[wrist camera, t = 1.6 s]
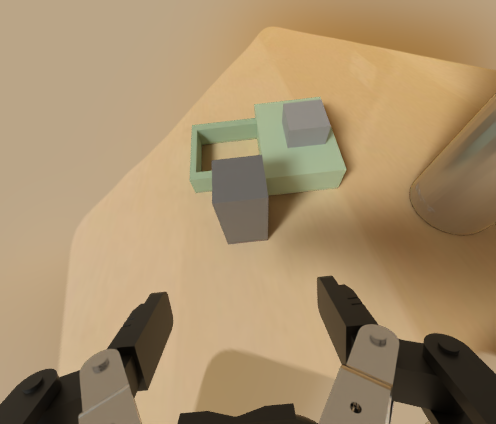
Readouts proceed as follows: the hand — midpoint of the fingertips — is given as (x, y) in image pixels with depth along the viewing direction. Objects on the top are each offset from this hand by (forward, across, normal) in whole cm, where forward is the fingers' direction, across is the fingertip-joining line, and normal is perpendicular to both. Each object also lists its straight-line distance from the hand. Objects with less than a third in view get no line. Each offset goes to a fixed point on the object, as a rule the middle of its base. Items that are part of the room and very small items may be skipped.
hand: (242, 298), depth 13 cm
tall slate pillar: (+18, 0, +2) cm, 19 cm away
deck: (+26, -3, -6) cm, 27 cm away
